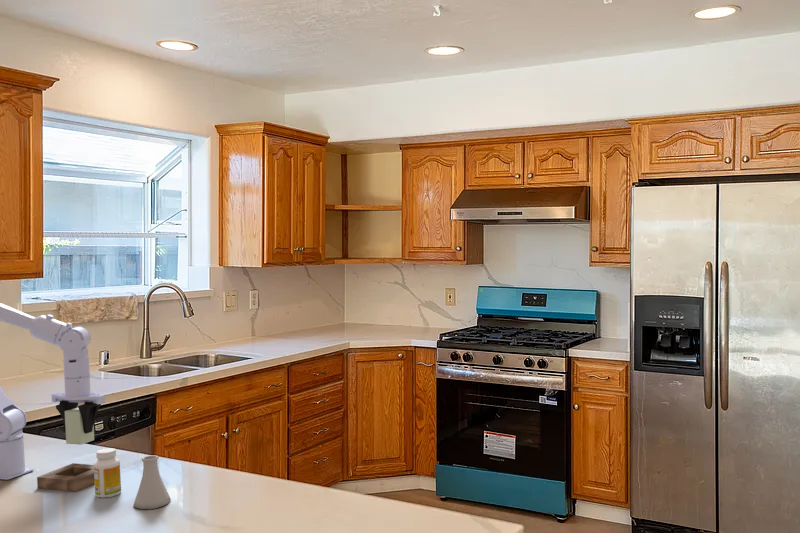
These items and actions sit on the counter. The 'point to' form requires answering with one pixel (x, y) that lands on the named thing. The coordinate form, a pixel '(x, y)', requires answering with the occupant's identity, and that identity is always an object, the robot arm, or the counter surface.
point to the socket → (68, 478)
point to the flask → (151, 486)
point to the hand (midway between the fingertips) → (79, 431)
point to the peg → (76, 428)
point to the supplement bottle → (107, 473)
